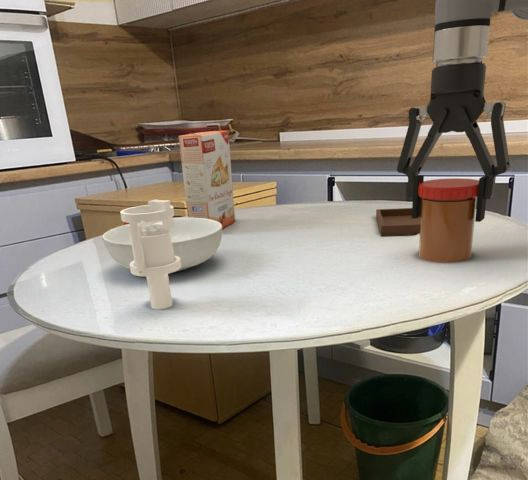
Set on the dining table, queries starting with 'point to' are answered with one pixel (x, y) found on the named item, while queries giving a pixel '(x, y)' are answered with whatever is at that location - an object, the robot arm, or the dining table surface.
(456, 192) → the lid
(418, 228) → the tray
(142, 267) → the white framed cylinder holder
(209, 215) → the cracker box
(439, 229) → the jar
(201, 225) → the serving bowl
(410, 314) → the dining table surface
